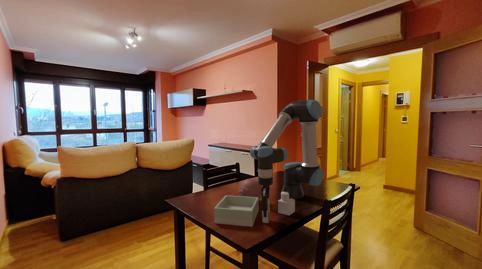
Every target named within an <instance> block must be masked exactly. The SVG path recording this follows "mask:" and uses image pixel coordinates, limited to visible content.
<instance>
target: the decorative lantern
mask: <svg viewBox="0 0 482 269" xmlns="http://www.w3.org/2000/svg"><path fill="white" fill-rule="evenodd" d="M262 187H263V186H262V185H259V183H258V179H255V178H246V179H244V180H243V181H242V182H241V183H240V184H239V188H238V192H237V194H238V196H245V197H258V202H259V201H260V200H261V199H262V194H261V193H262V191H261V188H262Z"/></svg>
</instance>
